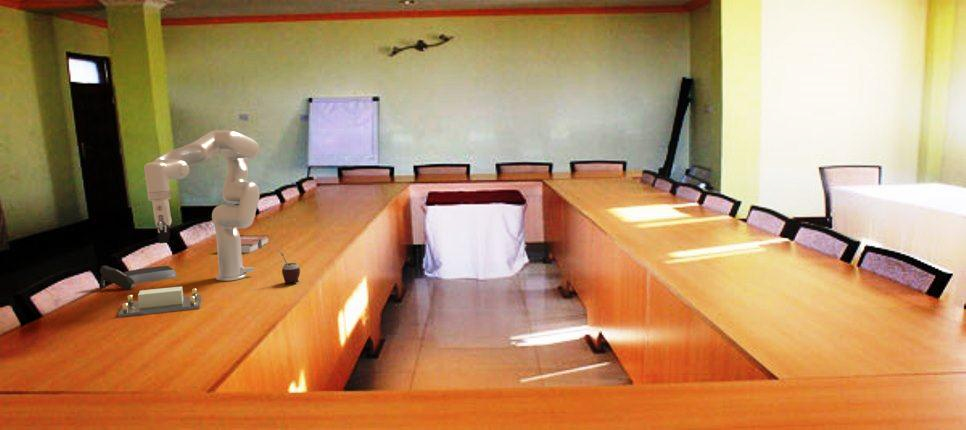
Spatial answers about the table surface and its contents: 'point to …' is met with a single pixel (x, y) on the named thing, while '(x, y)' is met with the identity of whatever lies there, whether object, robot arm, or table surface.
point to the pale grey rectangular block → (160, 297)
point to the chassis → (133, 306)
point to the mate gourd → (290, 272)
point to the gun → (115, 278)
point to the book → (252, 243)
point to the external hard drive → (151, 274)
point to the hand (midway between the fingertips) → (165, 240)
